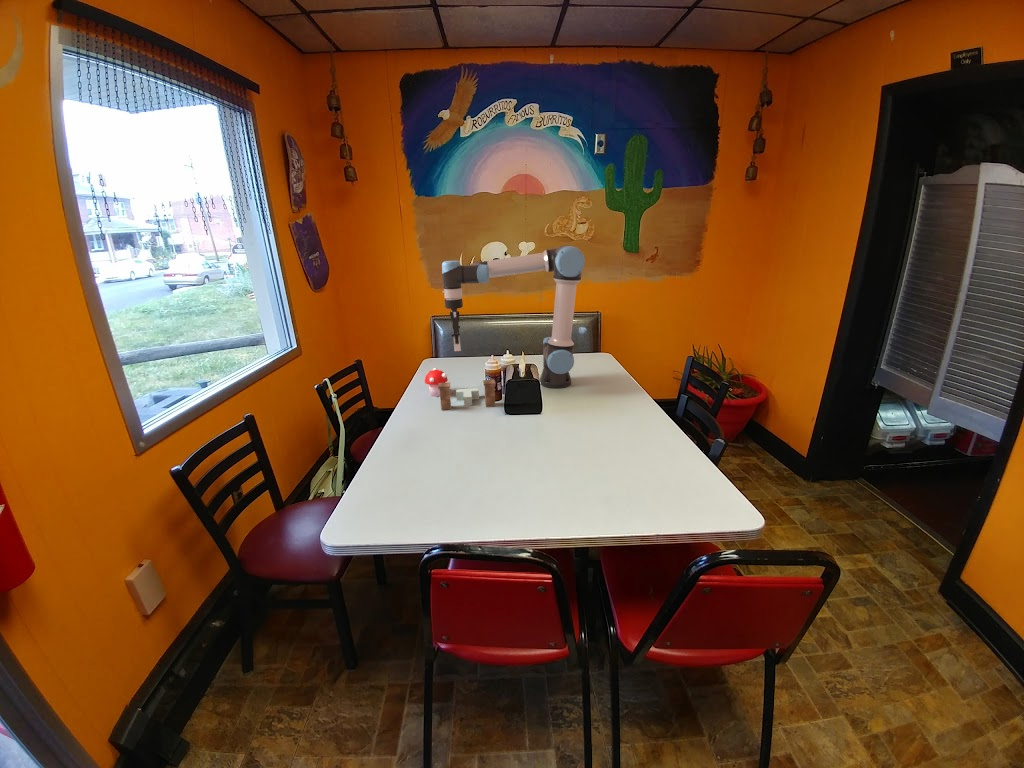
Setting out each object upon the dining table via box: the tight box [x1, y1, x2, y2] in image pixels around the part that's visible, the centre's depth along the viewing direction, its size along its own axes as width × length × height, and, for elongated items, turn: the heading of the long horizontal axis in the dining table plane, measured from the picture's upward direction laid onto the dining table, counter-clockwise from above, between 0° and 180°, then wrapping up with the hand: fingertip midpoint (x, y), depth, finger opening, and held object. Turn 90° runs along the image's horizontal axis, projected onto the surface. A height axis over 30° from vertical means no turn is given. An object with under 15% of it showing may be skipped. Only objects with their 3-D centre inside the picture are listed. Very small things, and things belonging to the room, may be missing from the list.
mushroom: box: [424, 367, 449, 398], centre depth 206 cm, size 11×11×12 cm
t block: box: [455, 387, 480, 407], centre depth 198 cm, size 10×10×4 cm
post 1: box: [438, 381, 452, 411], centre depth 190 cm, size 5×5×11 cm
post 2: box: [482, 379, 496, 408], centre depth 192 cm, size 5×5×11 cm
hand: (457, 346), depth 196 cm, fingers open, 13 cm apart
